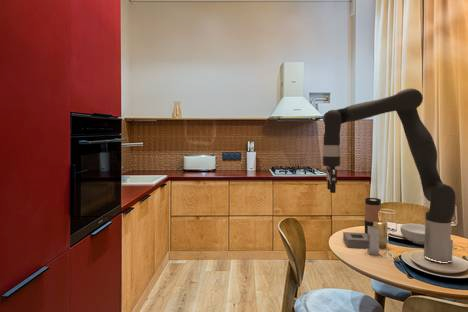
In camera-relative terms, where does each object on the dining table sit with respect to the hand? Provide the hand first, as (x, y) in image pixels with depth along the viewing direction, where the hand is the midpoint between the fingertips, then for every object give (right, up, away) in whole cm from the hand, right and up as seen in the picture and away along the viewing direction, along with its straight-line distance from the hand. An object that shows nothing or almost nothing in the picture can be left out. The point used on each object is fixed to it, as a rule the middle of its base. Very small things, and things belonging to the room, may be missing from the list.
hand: (331, 191), depth 135 cm
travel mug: (+29, -27, +24) cm, 47 cm away
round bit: (+26, -28, +9) cm, 40 cm away
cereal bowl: (+49, -28, +15) cm, 59 cm away
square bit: (+19, -29, +1) cm, 35 cm away
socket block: (+17, -28, +13) cm, 35 cm away
